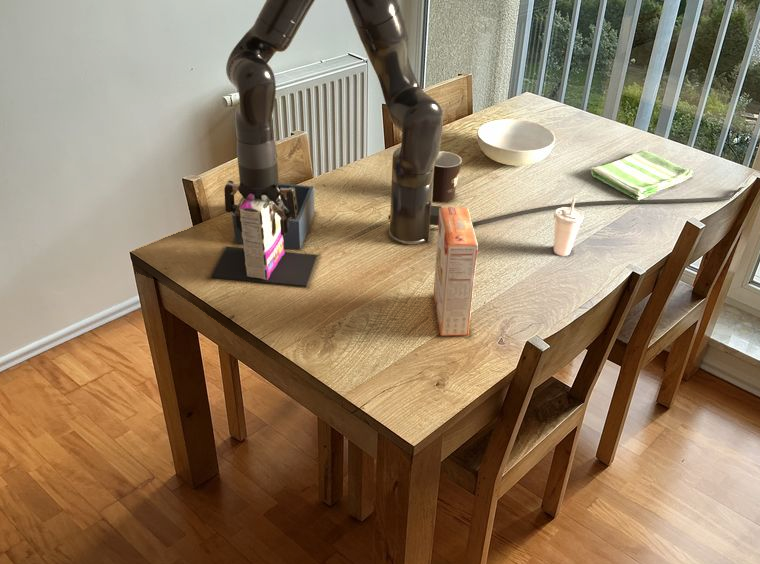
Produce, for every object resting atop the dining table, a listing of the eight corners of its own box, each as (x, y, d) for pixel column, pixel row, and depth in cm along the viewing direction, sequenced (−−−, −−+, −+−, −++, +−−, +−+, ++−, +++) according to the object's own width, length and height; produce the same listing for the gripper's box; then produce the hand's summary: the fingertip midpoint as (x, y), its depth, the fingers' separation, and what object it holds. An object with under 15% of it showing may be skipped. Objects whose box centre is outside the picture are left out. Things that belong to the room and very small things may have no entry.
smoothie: (558, 261, 179) (569, 205, 171) (542, 247, 184) (552, 192, 175) (581, 255, 182) (593, 200, 173) (565, 241, 186) (575, 187, 178)
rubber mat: (317, 256, 175) (317, 255, 175) (306, 287, 166) (306, 285, 166) (226, 247, 176) (226, 246, 176) (210, 278, 167) (210, 276, 166)
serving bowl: (500, 135, 231) (502, 112, 227) (564, 156, 222) (568, 133, 218) (460, 158, 218) (462, 134, 213) (527, 182, 209) (530, 158, 204)
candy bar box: (263, 250, 175) (258, 181, 165) (285, 253, 175) (281, 185, 164) (244, 277, 167) (237, 207, 156) (267, 281, 166) (262, 211, 156)
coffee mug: (439, 208, 195) (442, 170, 189) (416, 194, 200) (418, 157, 194) (473, 195, 202) (478, 158, 195) (450, 182, 207) (454, 145, 200)
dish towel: (693, 179, 216) (696, 169, 214) (638, 202, 204) (641, 192, 202) (640, 154, 226) (642, 145, 224) (585, 175, 214) (587, 166, 212)
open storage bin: (314, 213, 190) (313, 186, 186) (300, 249, 177) (299, 221, 173) (253, 207, 191) (251, 180, 186) (234, 243, 178) (232, 215, 173)
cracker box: (431, 295, 166) (438, 205, 153) (460, 295, 167) (469, 205, 154) (438, 337, 155) (446, 243, 142) (468, 336, 156) (479, 244, 143)
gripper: (215, 164, 153) (224, 238, 163) (289, 170, 152) (293, 244, 162) (226, 147, 159) (234, 219, 169) (297, 153, 158) (301, 225, 168)
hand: (263, 231), depth 166 cm, fingers open, 8 cm apart
